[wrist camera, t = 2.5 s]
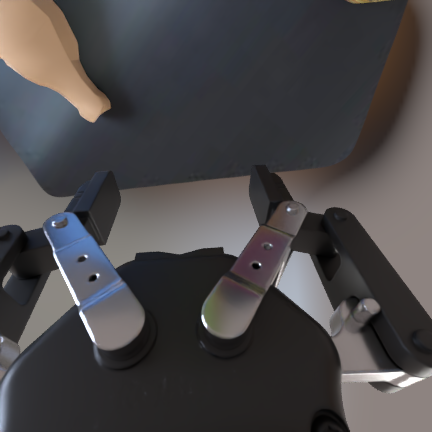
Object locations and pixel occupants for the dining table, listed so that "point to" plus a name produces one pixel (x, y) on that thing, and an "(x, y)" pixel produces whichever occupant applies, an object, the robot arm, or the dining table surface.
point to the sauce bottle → (364, 1)
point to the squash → (47, 53)
